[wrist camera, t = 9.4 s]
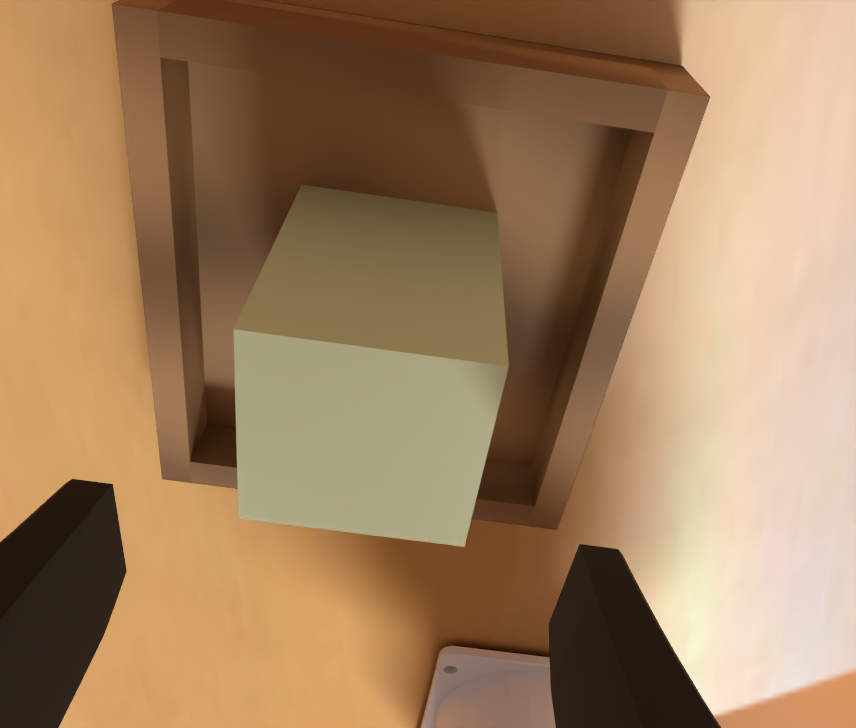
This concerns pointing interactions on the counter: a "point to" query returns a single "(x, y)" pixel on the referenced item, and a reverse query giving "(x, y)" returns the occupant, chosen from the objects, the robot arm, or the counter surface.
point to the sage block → (371, 367)
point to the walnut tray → (397, 178)
